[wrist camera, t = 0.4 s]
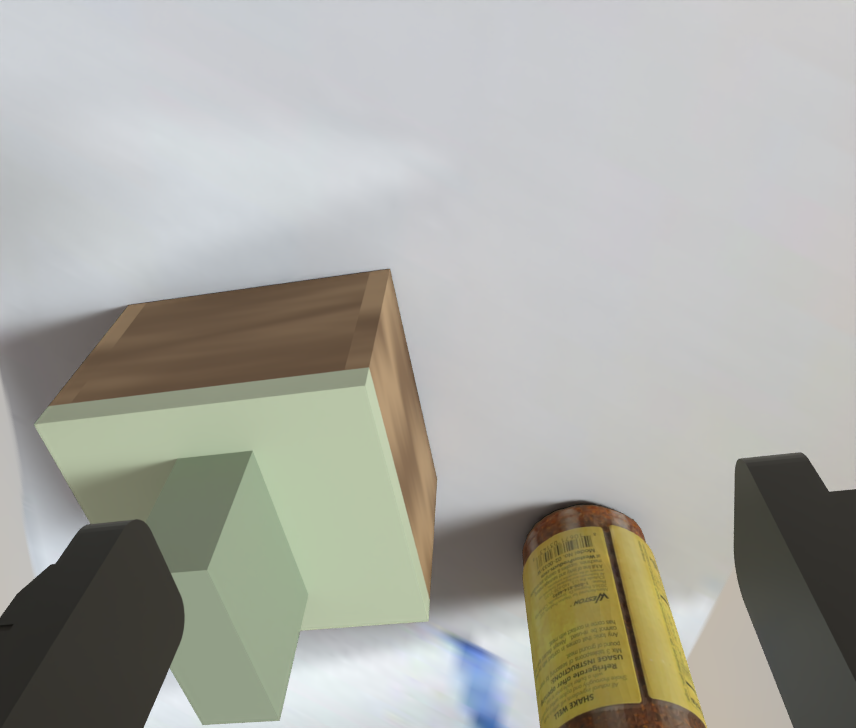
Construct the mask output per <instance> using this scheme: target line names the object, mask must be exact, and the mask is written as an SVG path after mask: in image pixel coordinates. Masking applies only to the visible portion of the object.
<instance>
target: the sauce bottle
mask: <svg viewBox="0 0 856 728" xmlns="http://www.w3.org/2000/svg"><path fill="white" fill-rule="evenodd" d="M523 566H524V569H523V586H524V596H525V604H526V613H527V621H528V629H529V637H530V644H531V653H532V662H533V670H534V679H535V688H536V696H537V704H538V713H539V721H540V728H707V726H706V723H705V720H704V717H703V713H702V711H701V707H700V704H699V700H698V698H697V694H696V691H695V688H694V684H693V681H692V678H691V674H690V671H689V668H688V664H687V661H686V658H685V655H684V651H683V648H682V645H681V642H680V638H679V635H678V632H677V629H676V625H675V622H674V619H673V616H672V613H671V610H670V607H669V603H668V600H667V597H666V593H665V590H664V587H663V584H662V580H661V577H660V574H659V571H658V568H657V564H656V561H655V558H654V555H653V553H652V551H651V549H650V548H649V546H648V545H647V544H646V541H645V539H644V535H643V533H642V530H641V529H640V527H639V526H638V524H637V523H636V522H635V521H634V520H633V519H631V518H629V517H628V516H626V515H624V514H623V513H620V512H618V511H615V510H612V509H609V508H606V507H602V506H598V505H576V506H573V507H568V508H566V509H561V510H557V511H554V512H552V513H551V514H550V515H548V516H545V517H544V518H543V519H542V520H541V521H539V522H537V523H536V524H535V525H534V527H533V529H532V530H531V531H530V532H529V534H528V535H527V539H526V541H525V543H524V547H523Z"/></svg>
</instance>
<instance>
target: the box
mask: <svg viewBox="0 0 856 728" xmlns="http://www.w3.org/2000/svg"><path fill="white" fill-rule="evenodd" d="M368 367H369V369H370V373H371V377H372V381H373V384H374V388H375V392H376V396H377V400H378V404H379V407H380V411H381V415H382V419H383V423H384V427H385V430H386V434H387V438H388V442H389V446H390V450H391V453H392V457H393V461H394V465H395V469H396V473H397V476H398V480H399V484H400V488H401V492H402V496H403V499H404V503H405V507H406V511H407V515H408V519H409V523H410V526H411V530H412V534H413V538H414V542H415V546H416V549H417V553H418V557H419V561H420V565H421V569H422V572H423V576H424V580H425V584H426V588H427V592H428V595H429V599H430V587H431V571H432V555H433V538H434V522H435V506H436V490H437V477H436V472H435V468H434V463H433V459H432V454H431V450H430V445H429V441H428V436H427V432H426V428H425V423H424V419H423V414H422V410H421V405H420V401H419V396H418V392H417V387H416V383H415V378H414V374H413V370H412V365H411V361H410V356H409V352H408V347H407V343H406V338H405V334H404V329H403V325H402V320H401V316H400V312H399V307H398V303H397V298H396V294H395V289H394V285H393V280H392V276H391V271H390V269H386V270H378V271H371V272H364V273H357V274H350V275H342V276H335V277H328V278H321V279H314V280H306V281H299V282H292V283H285V284H277V285H270V286H263V287H256V288H249V289H241V290H234V291H227V292H220V293H213V294H205V295H198V296H191V297H184V298H177V299H169V300H162V301H155V302H148V303H141V304H133V305H128V307H127V308H126V309H125V310H124V312H123V313H122V314H121V315H120V317H119V318H118V319H117V320H116V322H115V323H114V324H113V325H112V327H111V328H110V329H109V330H108V332H107V333H106V334H105V335H104V337H103V338H102V339H101V341H100V342H99V343H98V344H97V346H96V347H95V348H94V349H93V351H92V352H91V353H90V354H89V356H88V357H87V358H86V359H85V361H84V362H83V363H82V364H81V366H80V367H79V368H78V369H77V371H76V372H75V373H74V374H73V376H72V377H71V378H70V380H69V381H68V382H67V383H66V385H65V386H64V387H63V388H62V390H61V391H60V392H59V393H58V395H57V396H56V397H55V398H54V400H53V401H52V402H51V403H50V405H49V406H54V405H62V404H70V403H79V402H87V401H95V400H103V399H112V398H120V397H128V396H136V395H145V394H153V393H161V392H169V391H178V390H186V389H194V388H203V387H211V386H219V385H227V384H236V383H244V382H252V381H260V380H269V379H277V378H285V377H294V376H302V375H310V374H318V373H327V372H335V371H343V370H351V369H360V368H368Z"/></svg>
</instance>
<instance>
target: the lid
mask: <svg viewBox="0 0 856 728" xmlns="http://www.w3.org/2000/svg"><path fill="white" fill-rule="evenodd" d="M34 426H35V428H36V429H37V431H38V433H39V435H40V436H41V438H42V440H43V442H44V443H45V445H46V447H47V449H48V450H49V452H50V454H51V456H52V457H53V459H54V461H55V462H56V464H57V466H58V468H59V469H60V471H61V473H62V475H63V476H64V478H65V480H66V482H67V483H68V485H69V487H70V489H71V490H72V492H73V494H74V496H75V497H76V499H77V501H78V503H79V504H80V506H81V508H82V510H83V511H84V513H85V515H86V517H87V518H88V520H89V522H90V524H96V523H106V522H116V521H125V520H135V519H138V520H142V521H144V522H145V523H146V524H147V525H148V526H149V528H150V529H151V531H152V533H153V536H154V538H155V540H156V542H157V544H158V546H159V549H160V551H161V553H162V555H163V557H164V560H165V562H166V564H167V566H168V568H169V570H170V573H171V575H172V577H173V579H174V581H175V584H176V586H177V588H178V590H179V592H180V595H181V597H182V600H183V605H184V613H185V623H184V631H183V636H182V639H181V642H180V645H179V647H178V649H177V652H176V654H175V656H174V659H173V661H172V663H171V666H170V669H171V671H172V673H173V674H174V676H175V678H176V680H177V681H178V683H179V685H180V687H181V688H182V690H183V692H184V694H185V695H186V697H187V699H188V700H189V702H190V704H191V706H192V707H193V709H194V711H195V713H196V714H197V716H198V718H199V720H200V721H201V723H202V725H210V724H227V723H245V722H263V721H280V717H281V712H282V708H283V704H284V699H285V695H286V691H287V686H288V682H289V677H290V673H291V669H292V664H293V660H294V656H295V651H296V647H297V643H298V638H299V634H300V631H303V630H316V629H330V628H344V627H358V626H371V625H385V624H399V623H413V622H427V621H428V620H429V604H430V599H429V595H428V592H427V588H426V584H425V580H424V576H423V572H422V569H421V565H420V561H419V557H418V553H417V549H416V546H415V542H414V538H413V534H412V530H411V526H410V523H409V519H408V515H407V511H406V507H405V503H404V499H403V496H402V492H401V488H400V484H399V480H398V476H397V473H396V469H395V465H394V461H393V457H392V453H391V450H390V446H389V442H388V438H387V434H386V430H385V427H384V423H383V419H382V415H381V411H380V407H379V404H378V400H377V396H376V392H375V388H374V384H373V381H372V377H371V373H370V369H369V367H368V368H360V369H351V370H343V371H335V372H327V373H318V374H310V375H302V376H294V377H285V378H277V379H269V380H260V381H252V382H244V383H236V384H227V385H219V386H211V387H203V388H194V389H186V390H178V391H169V392H161V393H153V394H145V395H136V396H128V397H120V398H112V399H103V400H95V401H87V402H79V403H70V404H62V405H54V406H48V407H47V408H46V410H45V411H44V412H43V414H42V415H41V416H40V417H39V419H38V420H37V421H36V422H35V424H34Z"/></svg>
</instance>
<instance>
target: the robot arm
mask: <svg viewBox="0 0 856 728" xmlns="http://www.w3.org/2000/svg"><path fill="white" fill-rule="evenodd" d="M734 560H735V568H736V573H737V579H738V583H739V587H740V591H741V594H742V597H743V600H744V603H745V605H746V608H747V610H748V613H749V616H750V618H751V621H752V623H753V626H754V628H755V630H756V633H757V635H758V639H759V641H760V644H761V646H762V649H763V651H764V654H765V656H766V659H767V661H768V664H769V666H770V669H771V671H772V674H773V676H774V679H775V681H776V684H777V687H778V689H779V692H780V694H781V697H782V699H783V702H784V704H785V707H786V709H787V712H788V715H789V717H790V720H791V722H792V725H793V727H794V728H856V489H854V490H843V491H833V492H829V491H828V489H827V488H826V486H825V485H824V483H823V481H822V480H821V478H820V477H819V475H818V473H817V472H816V470H815V469H814V467H813V466H812V464H811V462H810V461H809V459H808V458H807V457H806V456H805V455H804V454H803V453H790V454H780V455H770V456H760V457H751V458H741V459H738V460H737V462H736V467H735V497H734ZM184 623H185V613H184V605H183V600H182V597H181V595H180V592H179V590H178V588H177V586H176V584H175V581H174V579H173V577H172V575H171V573H170V570H169V568H168V566H167V564H166V562H165V560H164V557H163V555H162V553H161V551H160V549H159V546H158V544H157V542H156V540H155V538H154V536H153V533H152V531H151V529H150V528H149V526H148V525H147V524H146V523H145V522H144V521H142V520H138V519H135V520H125V521H116V522H106V523H96V524H89V525H86V526H84V527H82V528H81V529H80V530H79V531H78V532H77V534H76V535H75V536H74V538H73V539H72V541H71V542H70V544H69V545H68V547H67V548H66V549H65V551H64V552H63V554H62V555H61V557H60V558H59V560H58V561H57V562H56V564H52V565H50V566H49V567H47V568H46V569H45V570H44V571H43V572H42V573H41V574H39V575H38V576H37V577H36V578H35V579H34V580H33V581H32V582H30V583H29V584H28V585H27V586H26V587H25V588H23V589H22V590H21V591H20V592H19V593H18V594H17V595H16V596H15V598H14V599H13V600H12V602H11V603H10V605H9V606H8V607H7V609H6V610H5V612H4V613H3V614H2V616H1V617H0V728H144V725H145V723H146V721H147V718H148V716H149V714H150V711H151V709H152V707H153V705H154V702H155V700H156V698H157V695H158V693H159V691H160V688H161V686H162V684H163V682H164V679H165V677H166V675H167V672H168V670H169V668H170V666H171V663H172V661H173V659H174V656H175V654H176V652H177V649H178V647H179V645H180V642H181V639H182V636H183V631H184Z"/></svg>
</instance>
